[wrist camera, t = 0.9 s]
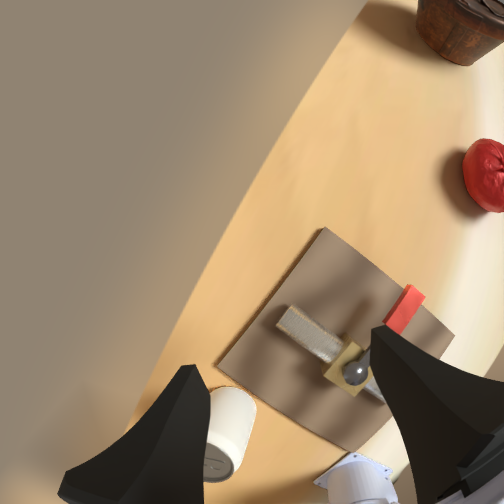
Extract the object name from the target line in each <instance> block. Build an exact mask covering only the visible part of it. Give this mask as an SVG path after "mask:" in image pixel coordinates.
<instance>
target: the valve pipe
mask: <svg viewBox="0 0 504 504" xmlns="http://www.w3.org/2000/svg"><path fill="white" fill-rule="evenodd" d="M275 327H277V328H278V329H279V330H281V331H282V332H284V333H285V334H286V335H288V336H289V337H290V338H292V339H293V340H294V341H296V342H297V343H298V344H300V345H301V346H303V347H304V348H305V349H307V350H308V351H310V352H311V353H312V354H314V355H315V356H316V357H318V358H319V359H321V360H322V361H321V362H320V365H321V369H322V373H323V376H324V377H326V378H327V379H329V380H330V381H332V382H333V383H334V384H336V385H337V386H339V387H340V388H342V389H343V390H345V391H347V392H348V393H350V394H351V395H353V396H354V397H355V396H356V395H357V394H358V393H359V392H360V391H361V389H362V388H363V389H364V390H366V391H367V392H369V393H370V394H372V395H373V396H375V397H376V398H378V399H379V400H381V401H382V402H384V403H386V401H385V399H384V397H383V395H382V393H381V391H380V389H379V388H378V386H377V384H376V381H375V378H374V376H373V373H372V370H371V367H370V366H369V368H368V377H367V379H366V380H365V381H364V382H363V383H362V384H360V385H357V386H351V385H349V384H347V383H346V381H345V379H344V377H343V374H342V371H343V368H344V366H345V365H346V364H347V363H348V362H349V361H352V360H358V359H359V358H360V356H361V355H362V354H363V353H364V351H365V350H366V349H367V348H366V347H364V346H363V345H362V344H360V343H359V342H357V341H356V340H355V339H353V338H352V337H351V336H349V335H348V334H347V333H344V334H343V335H342V336H341V338H339V337H338V336H337V335H335V334H334V333H332V332H331V331H330V330H328V329H327V328H326V327H324V326H323V325H322V324H320V323H319V322H318V321H316V320H315V319H314V318H312V317H311V316H310V315H308V314H307V313H306V312H304V311H303V310H302V309H300V308H299V307H298V306H296V305H295V304H294V303H292V304H291V305H290V306H289V307H288V308H287V309H286V311H285V312H284V313H283V314H282V316H281V317H280V318H279V320H278V321H277V323H276V324H275ZM386 404H387V403H386Z"/></svg>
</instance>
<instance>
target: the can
mask: <svg viewBox="0 0 504 504" xmlns="http://www.w3.org/2000/svg"><path fill="white" fill-rule="evenodd" d="M210 395H211V413H210V423H209V430H208V437H207V444H206V450H205V457H204V471H203V482H209V483H217V482H222V481H225V480H227V479H229V478H230V477H231V476H232V474H233V472H235V471H236V470H237V469H238V468H239V466H240V465H241V462H242V460H243V457H244V454H245V450H246V447H247V444H248V441H249V437H250V434H251V431H252V427H253V424H254V420H255V416H256V405H255V402H254V401H253V399H252V398H251V397H250V396H249V395H248V394H247V393H246V392H244V391H243V390H241V389H238V388H235V387H220V388H217V389H215V390H214V391H212V392H211V393H210Z"/></svg>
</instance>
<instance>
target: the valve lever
mask: <svg viewBox="0 0 504 504" xmlns="http://www.w3.org/2000/svg"><path fill="white" fill-rule="evenodd" d="M424 299H425V296H424V295H423V294H422V293H421V292H419V291H418V290H417V289H416V288H415V287H414V286H413V285H408V284H407V286H406V287H405V289H404V290H403V292H402V293H401V295H400V296H399V298H398V299H397V301H396V302H395V304H394V305H393V307H392V308H391V310H390V311H389V312H388V314H387V315H386V317H385V318H384V319H383V321H382V322H383V323H384V324H385V325H386V326H387V327H389V328H390V329H392V330H393V331H394V332H396V333H397V334H399V335H400V334H401V333H402V332H403V330H404V329H405V327H406V326H407V325H408V323H409V322H410V320H411V319H412V317H413V316H414V314H415V313H416V311H417V310H418V308H419V307H420V305H421V304H422V302H423V300H424ZM369 361H370V345H369V346H368V348H367V349H366V350H365V351H364V353H363V354H362V355H361V356H360V358H359V359H358V360H352V361H349V362H348V363H347V364H346V365H345V366H344V368H343V371H342V374H343V377H344V379H345V381H346V383H347V384H349V385H351V386H357V385H360V384H362V383H363V382H364V381H365V380H366V379H367V377H368V368H369V366H370V365H369Z"/></svg>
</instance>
